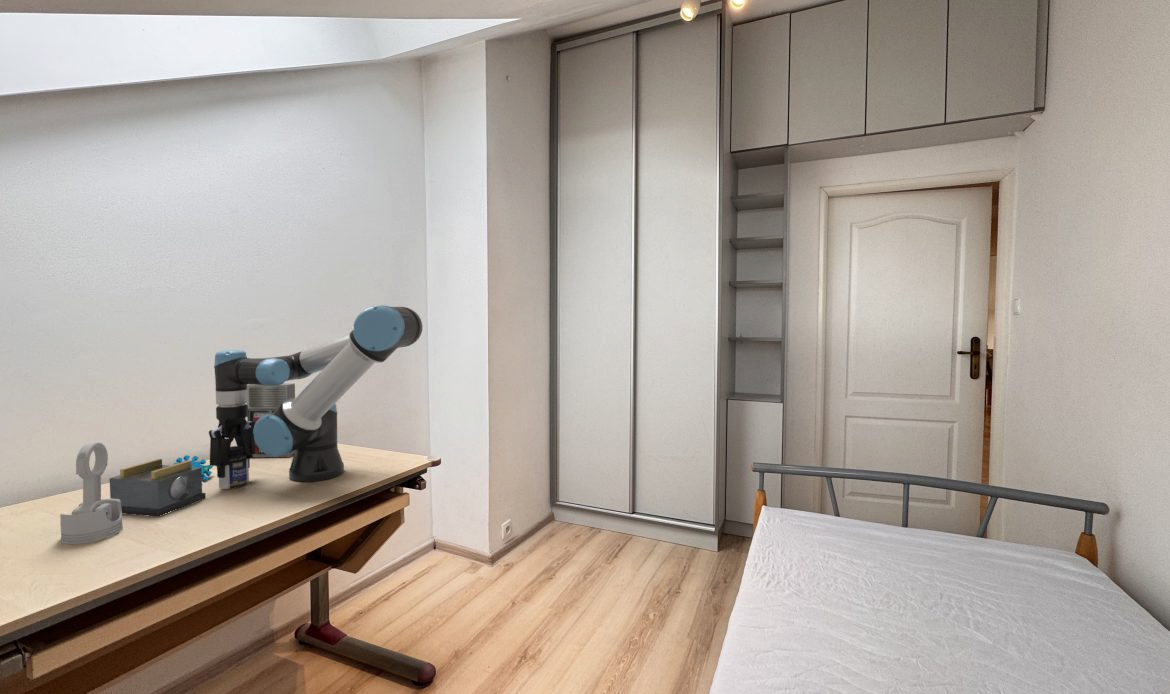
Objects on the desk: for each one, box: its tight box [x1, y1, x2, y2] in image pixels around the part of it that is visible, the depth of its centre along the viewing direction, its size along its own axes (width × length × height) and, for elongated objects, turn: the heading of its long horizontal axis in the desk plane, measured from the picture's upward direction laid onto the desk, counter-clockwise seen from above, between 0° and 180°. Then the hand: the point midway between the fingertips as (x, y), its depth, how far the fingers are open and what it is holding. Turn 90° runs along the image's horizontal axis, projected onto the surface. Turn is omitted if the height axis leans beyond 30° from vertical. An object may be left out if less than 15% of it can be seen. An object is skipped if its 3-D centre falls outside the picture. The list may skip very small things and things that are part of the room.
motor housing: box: [108, 458, 207, 517], centre depth 135 cm, size 15×13×10 cm
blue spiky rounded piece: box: [173, 454, 214, 482], centre depth 154 cm, size 11×6×10 cm
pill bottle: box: [221, 445, 248, 490], centre depth 150 cm, size 6×6×11 cm
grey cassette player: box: [246, 382, 296, 458], centre depth 182 cm, size 14×6×25 cm, turn 95°
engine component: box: [59, 442, 124, 545], centre depth 117 cm, size 11×20×10 cm
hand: (234, 484), depth 151 cm, fingers closed on pill bottle, 6 cm apart
